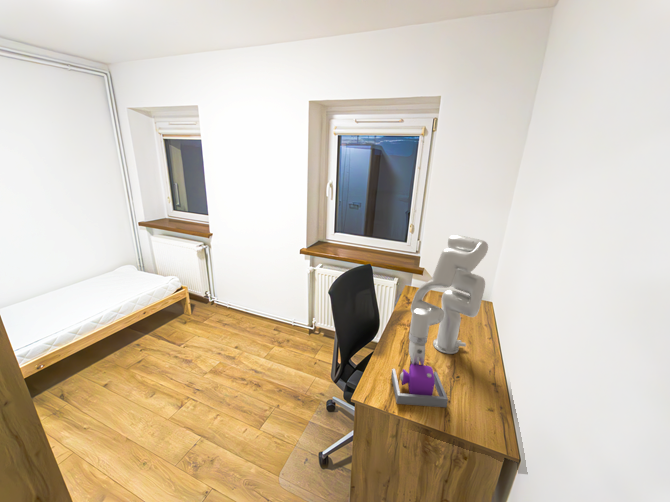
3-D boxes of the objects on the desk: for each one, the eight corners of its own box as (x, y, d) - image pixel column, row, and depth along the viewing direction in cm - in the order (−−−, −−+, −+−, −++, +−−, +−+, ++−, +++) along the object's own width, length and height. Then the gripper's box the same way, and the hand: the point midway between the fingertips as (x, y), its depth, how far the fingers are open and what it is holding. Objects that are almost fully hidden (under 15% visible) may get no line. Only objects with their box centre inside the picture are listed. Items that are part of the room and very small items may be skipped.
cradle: (435, 379, 126) (436, 371, 125) (446, 407, 111) (448, 399, 110) (391, 376, 127) (392, 368, 125) (396, 403, 112) (397, 395, 111)
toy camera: (396, 379, 125) (399, 359, 122) (427, 380, 125) (430, 361, 122) (402, 398, 115) (405, 378, 112) (435, 399, 115) (439, 379, 112)
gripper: (431, 348, 115) (425, 385, 120) (422, 327, 129) (417, 361, 134) (412, 346, 115) (407, 383, 120) (406, 326, 129) (401, 360, 135)
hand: (412, 372), depth 127 cm, fingers closed
